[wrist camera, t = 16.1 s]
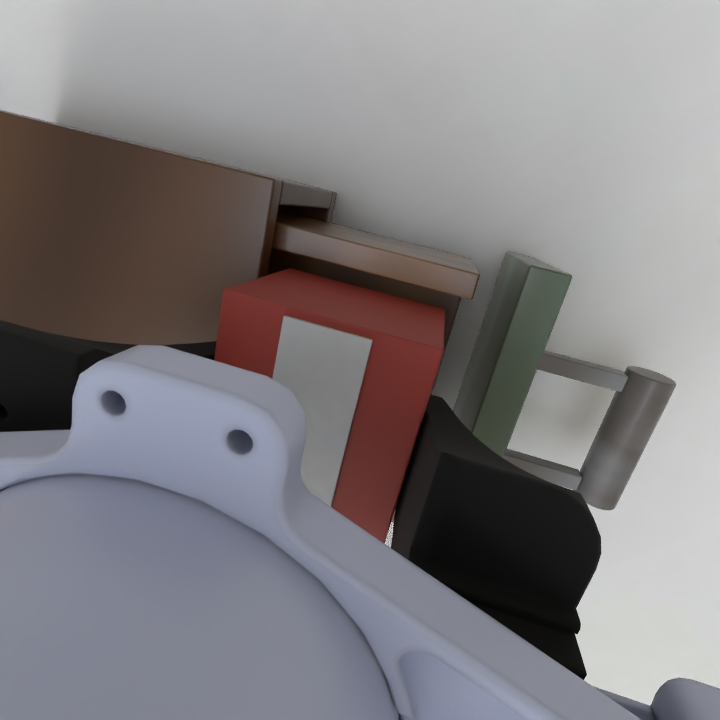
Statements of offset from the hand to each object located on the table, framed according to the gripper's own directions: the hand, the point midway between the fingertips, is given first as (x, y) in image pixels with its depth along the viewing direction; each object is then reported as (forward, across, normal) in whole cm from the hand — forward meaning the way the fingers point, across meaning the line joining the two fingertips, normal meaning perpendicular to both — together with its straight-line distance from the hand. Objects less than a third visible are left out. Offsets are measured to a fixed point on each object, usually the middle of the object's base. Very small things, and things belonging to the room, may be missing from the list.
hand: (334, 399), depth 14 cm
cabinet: (+8, +10, 0) cm, 12 cm away
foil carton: (+1, 0, 0) cm, 1 cm away
